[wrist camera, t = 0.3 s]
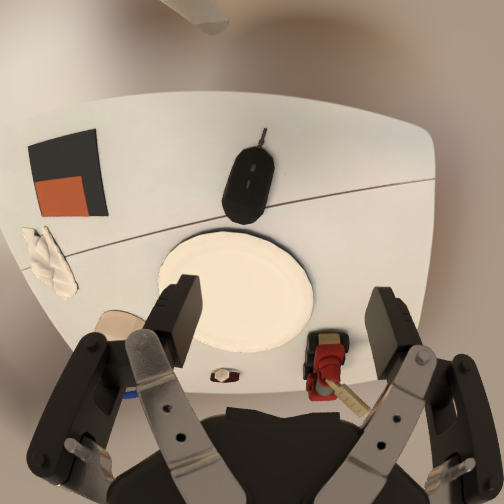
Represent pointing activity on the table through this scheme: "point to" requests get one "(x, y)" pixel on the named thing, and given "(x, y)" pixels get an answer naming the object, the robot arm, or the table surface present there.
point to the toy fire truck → (329, 371)
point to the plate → (242, 290)
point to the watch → (224, 376)
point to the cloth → (50, 263)
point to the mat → (68, 176)
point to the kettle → (119, 331)
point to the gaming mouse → (248, 185)
